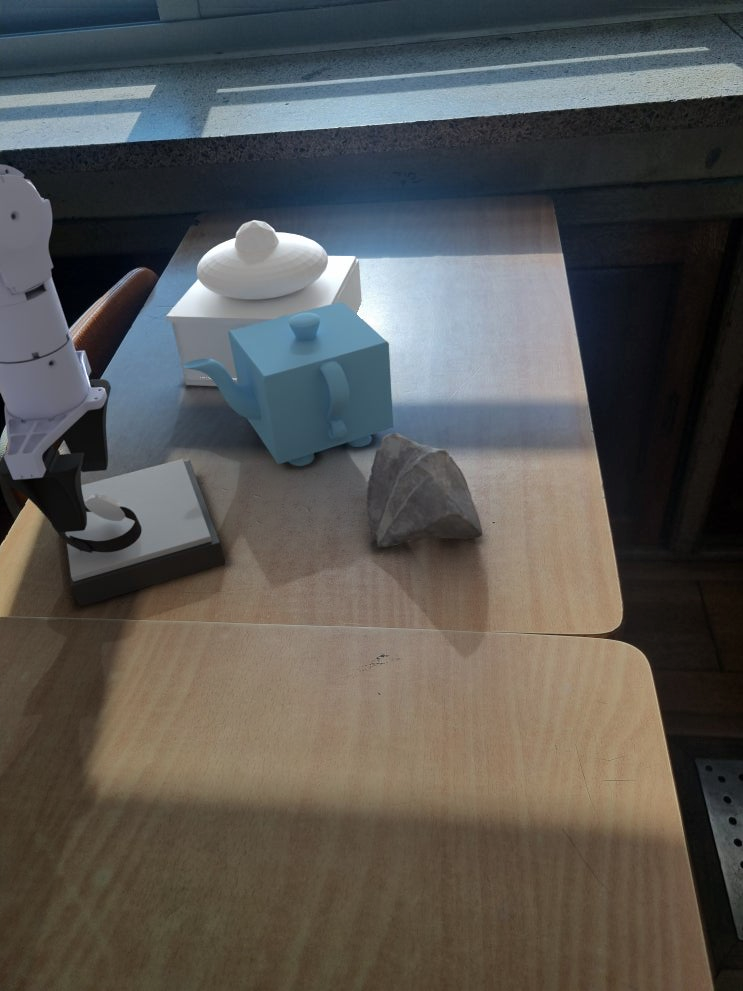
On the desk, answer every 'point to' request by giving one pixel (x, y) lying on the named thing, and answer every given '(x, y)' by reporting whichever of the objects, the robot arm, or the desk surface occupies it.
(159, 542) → the scale
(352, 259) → the butter dish
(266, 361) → the teapot
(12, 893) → the desk surface
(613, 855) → the desk surface
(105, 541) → the watch
